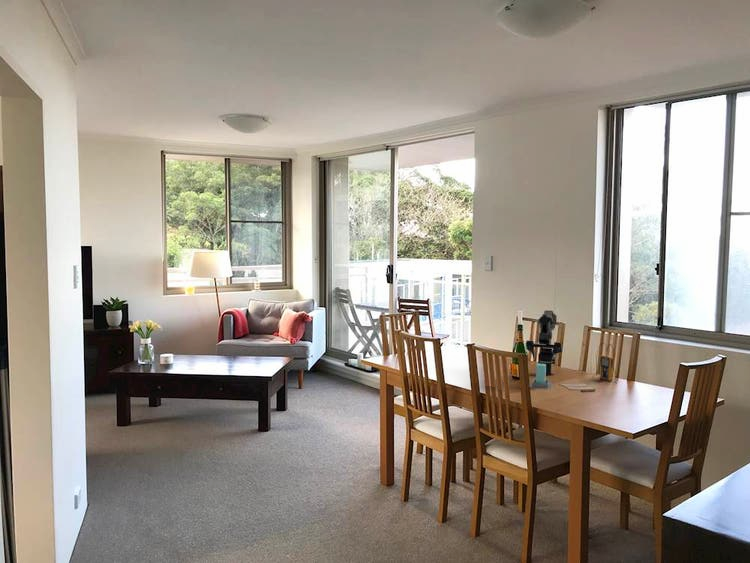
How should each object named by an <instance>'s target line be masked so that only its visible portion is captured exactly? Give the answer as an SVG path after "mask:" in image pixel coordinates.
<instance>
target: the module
mask: <svg viewBox="0 0 750 563" xmlns="http://www.w3.org/2000/svg"><path fill="white" fill-rule="evenodd" d="M546 377H547V375H546V364H540V363H539V364H538V363H536V365H535V379H536V383H544V384H546V380H547V378H546Z"/></svg>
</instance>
